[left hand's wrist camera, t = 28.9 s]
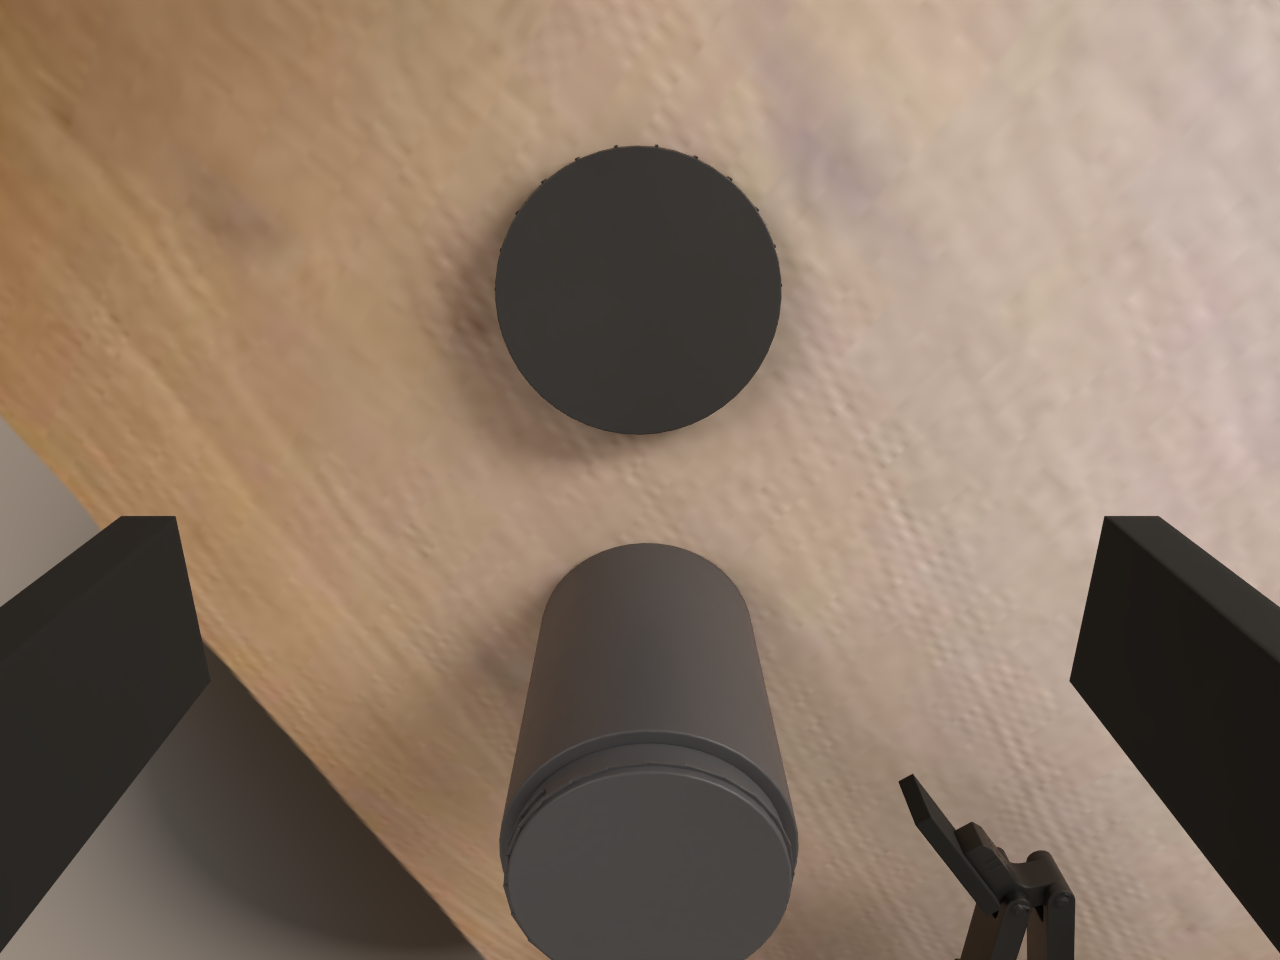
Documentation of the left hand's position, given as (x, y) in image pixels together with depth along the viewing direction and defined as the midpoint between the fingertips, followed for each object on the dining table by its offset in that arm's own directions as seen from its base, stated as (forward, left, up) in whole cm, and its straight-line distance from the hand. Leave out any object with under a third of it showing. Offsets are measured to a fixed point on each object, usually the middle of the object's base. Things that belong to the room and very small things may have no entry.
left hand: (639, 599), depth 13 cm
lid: (0, 0, -25) cm, 25 cm away
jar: (+16, -6, -26) cm, 31 cm away
